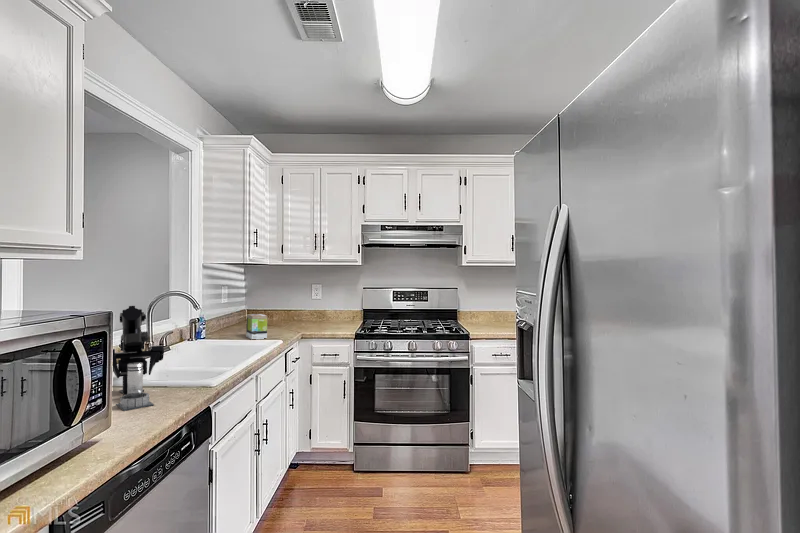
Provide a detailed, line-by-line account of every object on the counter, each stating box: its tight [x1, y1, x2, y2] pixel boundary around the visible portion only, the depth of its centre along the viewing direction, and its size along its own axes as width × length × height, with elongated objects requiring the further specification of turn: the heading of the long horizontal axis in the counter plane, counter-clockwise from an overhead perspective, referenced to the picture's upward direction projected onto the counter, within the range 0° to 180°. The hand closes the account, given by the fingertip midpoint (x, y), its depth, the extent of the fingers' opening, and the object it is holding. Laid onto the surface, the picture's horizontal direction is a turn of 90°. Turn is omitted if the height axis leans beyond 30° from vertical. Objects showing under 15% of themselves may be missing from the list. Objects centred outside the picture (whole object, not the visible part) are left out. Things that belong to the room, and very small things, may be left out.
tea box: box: [245, 313, 268, 340], centre depth 304 cm, size 15×10×15 cm, turn 30°
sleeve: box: [116, 392, 155, 412], centre depth 156 cm, size 9×9×3 cm
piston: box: [127, 362, 144, 399], centre depth 156 cm, size 5×5×13 cm
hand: (134, 376), depth 160 cm, fingers open, 9 cm apart
